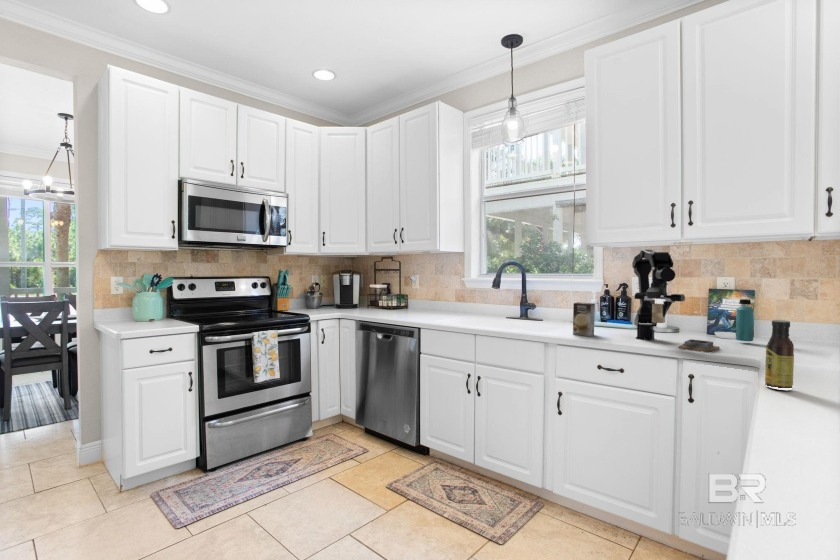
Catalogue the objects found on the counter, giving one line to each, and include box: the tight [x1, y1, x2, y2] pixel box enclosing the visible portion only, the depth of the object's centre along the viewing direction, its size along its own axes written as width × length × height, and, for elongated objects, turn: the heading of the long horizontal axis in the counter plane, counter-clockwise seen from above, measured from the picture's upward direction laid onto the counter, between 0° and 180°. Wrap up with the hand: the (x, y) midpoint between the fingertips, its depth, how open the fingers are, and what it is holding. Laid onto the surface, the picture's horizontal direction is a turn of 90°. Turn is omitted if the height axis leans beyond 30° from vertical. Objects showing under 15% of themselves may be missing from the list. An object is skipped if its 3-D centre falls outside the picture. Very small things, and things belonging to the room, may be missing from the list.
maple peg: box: [652, 303, 666, 324], centre depth 191 cm, size 4×4×8 cm
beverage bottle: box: [735, 298, 755, 342], centre depth 197 cm, size 6×7×20 cm
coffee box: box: [572, 301, 596, 337], centre depth 222 cm, size 9×6×16 cm
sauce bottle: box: [764, 319, 795, 389], centre depth 125 cm, size 7×6×20 cm
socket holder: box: [677, 338, 720, 353], centre depth 185 cm, size 12×12×3 cm
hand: (658, 316), depth 191 cm, fingers closed on maple peg, 4 cm apart
